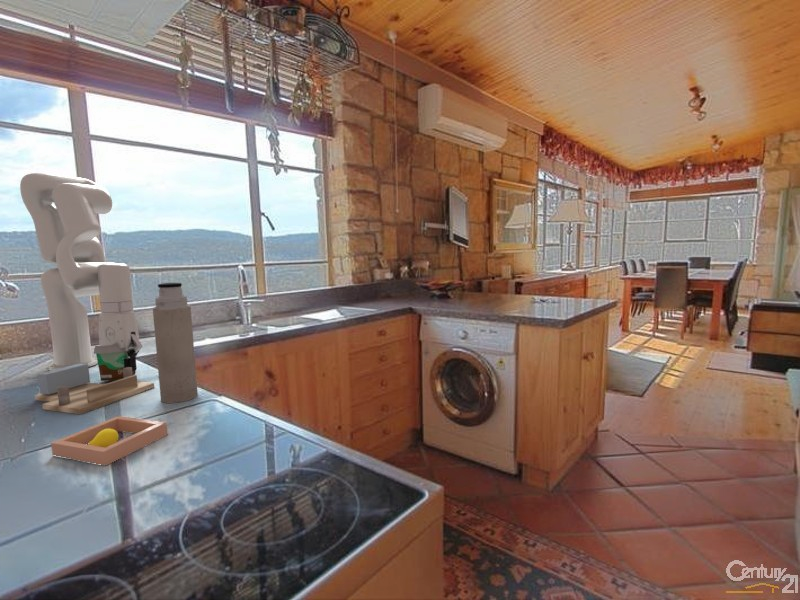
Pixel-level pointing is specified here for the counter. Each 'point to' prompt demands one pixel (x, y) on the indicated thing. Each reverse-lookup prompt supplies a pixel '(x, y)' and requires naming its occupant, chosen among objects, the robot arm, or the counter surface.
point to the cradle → (93, 394)
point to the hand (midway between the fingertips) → (122, 369)
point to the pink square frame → (144, 435)
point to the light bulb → (105, 438)
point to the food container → (111, 361)
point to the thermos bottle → (174, 344)
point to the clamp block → (63, 378)
